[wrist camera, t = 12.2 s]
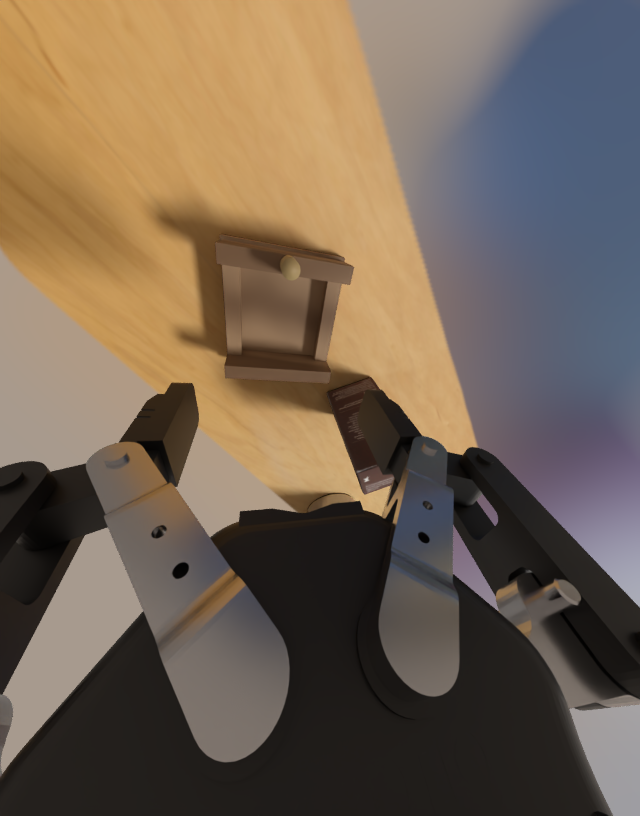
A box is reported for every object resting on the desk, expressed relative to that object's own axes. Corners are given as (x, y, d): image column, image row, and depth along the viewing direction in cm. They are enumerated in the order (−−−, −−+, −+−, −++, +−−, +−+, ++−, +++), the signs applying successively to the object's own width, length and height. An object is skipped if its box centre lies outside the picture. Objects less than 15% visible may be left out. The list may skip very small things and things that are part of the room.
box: (334, 417, 32) (362, 497, 23) (325, 391, 29) (354, 470, 20) (377, 402, 32) (423, 477, 22) (372, 374, 29) (424, 447, 20)
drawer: (321, 364, 27) (334, 397, 22) (229, 357, 24) (219, 393, 19) (341, 256, 21) (366, 267, 16) (221, 234, 18) (205, 238, 13)
